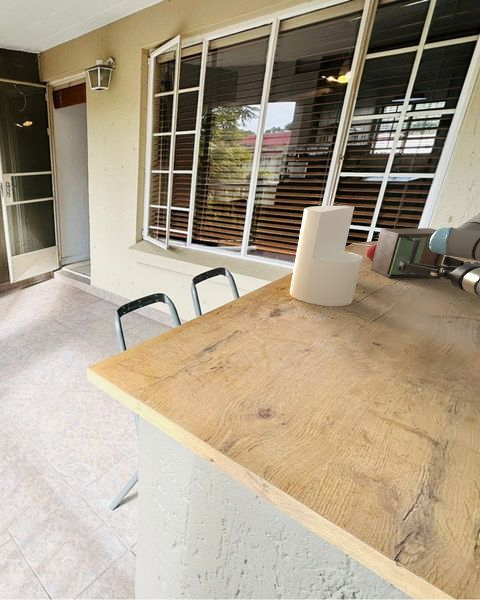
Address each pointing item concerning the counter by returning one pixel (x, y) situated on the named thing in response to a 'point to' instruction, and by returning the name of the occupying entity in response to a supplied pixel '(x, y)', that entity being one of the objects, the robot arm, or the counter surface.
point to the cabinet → (389, 245)
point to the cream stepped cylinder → (325, 258)
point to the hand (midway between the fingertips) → (421, 260)
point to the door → (408, 253)
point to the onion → (371, 252)
